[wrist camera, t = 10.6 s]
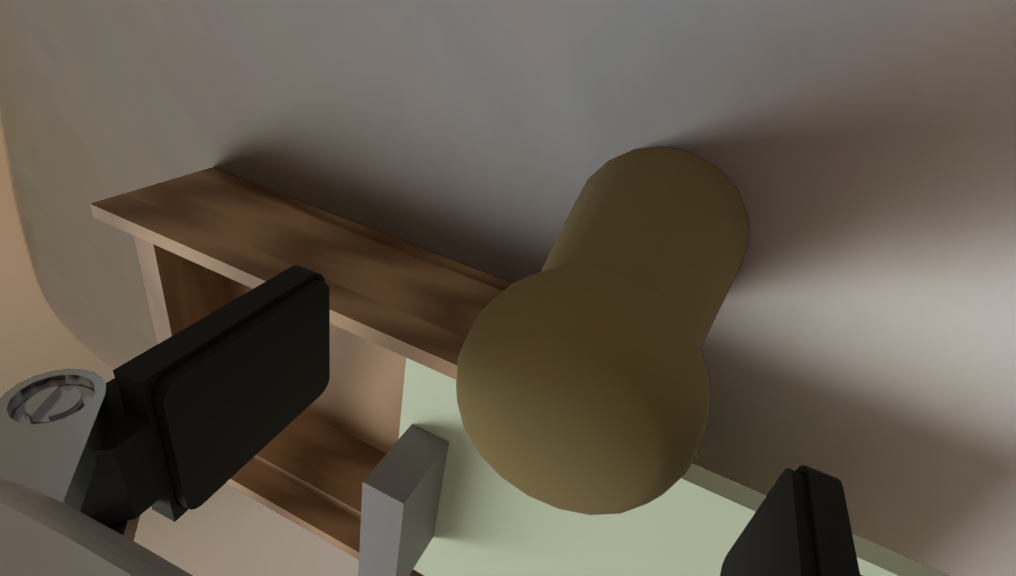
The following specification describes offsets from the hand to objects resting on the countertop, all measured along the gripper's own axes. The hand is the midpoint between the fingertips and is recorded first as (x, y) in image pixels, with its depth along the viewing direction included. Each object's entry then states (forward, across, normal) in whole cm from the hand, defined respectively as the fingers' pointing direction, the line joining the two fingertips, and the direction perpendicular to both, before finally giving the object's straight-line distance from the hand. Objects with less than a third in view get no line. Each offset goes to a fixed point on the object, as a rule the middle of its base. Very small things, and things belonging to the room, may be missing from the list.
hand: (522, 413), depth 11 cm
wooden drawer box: (+11, +11, +11) cm, 19 cm away
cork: (+11, -1, 0) cm, 11 cm away
